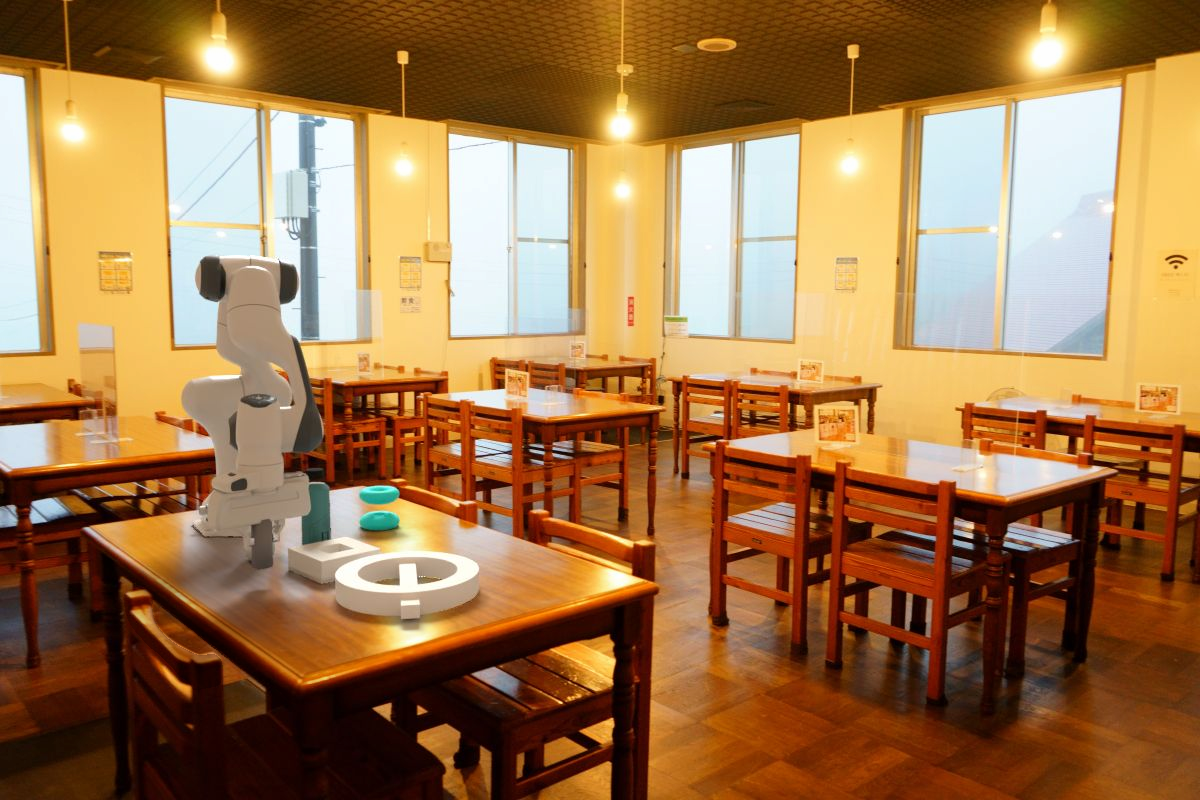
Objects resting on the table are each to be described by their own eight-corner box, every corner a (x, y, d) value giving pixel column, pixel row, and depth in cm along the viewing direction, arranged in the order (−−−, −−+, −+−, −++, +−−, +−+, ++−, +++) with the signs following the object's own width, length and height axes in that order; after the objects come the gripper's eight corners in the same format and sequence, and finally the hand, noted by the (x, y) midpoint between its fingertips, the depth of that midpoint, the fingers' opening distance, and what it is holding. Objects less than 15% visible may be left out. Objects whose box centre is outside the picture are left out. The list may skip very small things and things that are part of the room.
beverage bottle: (322, 560, 203) (321, 472, 201) (295, 558, 204) (293, 470, 202) (337, 552, 209) (335, 466, 207) (310, 550, 211) (308, 465, 209)
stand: (288, 569, 196) (287, 548, 195) (346, 557, 206) (346, 536, 205) (322, 584, 186) (321, 561, 185) (381, 570, 196) (380, 548, 196)
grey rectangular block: (248, 565, 184) (247, 517, 183) (267, 562, 187) (266, 514, 186) (257, 570, 181) (256, 521, 180) (276, 566, 184) (275, 518, 183)
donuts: (406, 489, 232) (371, 494, 226) (406, 527, 233) (371, 533, 227) (387, 483, 240) (352, 487, 233) (387, 520, 241) (352, 526, 234)
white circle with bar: (410, 628, 163) (410, 602, 163) (304, 599, 178) (304, 575, 177) (507, 588, 187) (507, 565, 186) (406, 565, 201) (406, 544, 201)
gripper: (300, 467, 192) (301, 531, 193) (203, 480, 177) (205, 549, 178) (316, 472, 187) (317, 537, 189) (217, 485, 173) (219, 556, 174)
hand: (261, 543), depth 184 cm, fingers closed on grey rectangular block, 4 cm apart
